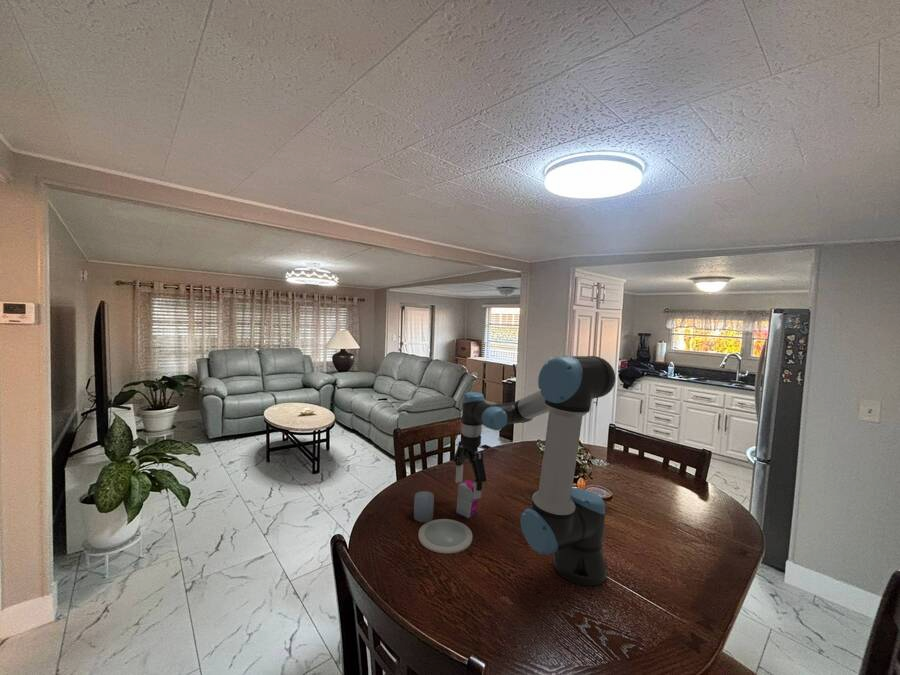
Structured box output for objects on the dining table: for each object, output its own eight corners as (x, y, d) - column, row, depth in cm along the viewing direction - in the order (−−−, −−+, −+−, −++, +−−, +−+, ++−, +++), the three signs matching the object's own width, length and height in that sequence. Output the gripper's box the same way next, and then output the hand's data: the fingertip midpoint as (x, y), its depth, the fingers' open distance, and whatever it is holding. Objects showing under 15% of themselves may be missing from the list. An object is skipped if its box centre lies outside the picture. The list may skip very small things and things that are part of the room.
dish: (482, 545, 121) (482, 541, 121) (432, 559, 113) (432, 555, 113) (456, 517, 137) (456, 514, 137) (410, 528, 129) (410, 524, 129)
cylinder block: (436, 519, 135) (437, 498, 135) (418, 523, 132) (419, 501, 131) (428, 510, 141) (429, 489, 141) (410, 514, 138) (411, 493, 138)
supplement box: (468, 519, 136) (470, 489, 136) (455, 513, 140) (457, 483, 139) (477, 513, 141) (479, 483, 140) (464, 508, 144) (466, 479, 144)
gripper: (498, 444, 129) (494, 503, 131) (463, 423, 151) (460, 474, 153) (480, 447, 126) (476, 507, 127) (446, 425, 148) (443, 477, 149)
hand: (467, 489), depth 140 cm, fingers open, 13 cm apart
